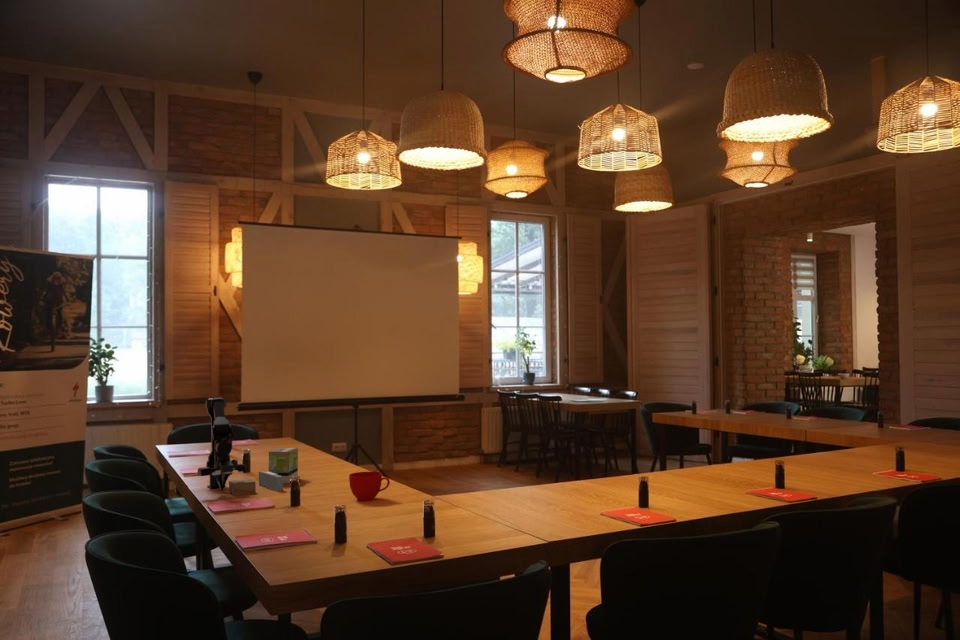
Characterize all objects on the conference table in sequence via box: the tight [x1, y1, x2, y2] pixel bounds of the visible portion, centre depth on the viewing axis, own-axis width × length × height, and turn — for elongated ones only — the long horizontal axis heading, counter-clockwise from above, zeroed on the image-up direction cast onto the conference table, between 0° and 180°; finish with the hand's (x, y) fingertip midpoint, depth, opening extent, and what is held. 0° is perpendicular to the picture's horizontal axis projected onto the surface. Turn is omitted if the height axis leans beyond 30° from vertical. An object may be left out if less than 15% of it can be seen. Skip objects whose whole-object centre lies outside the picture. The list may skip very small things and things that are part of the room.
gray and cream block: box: [258, 470, 284, 492], centre depth 337 cm, size 22×3×6 cm, turn 37°
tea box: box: [268, 447, 299, 484], centre depth 354 cm, size 15×10×15 cm, turn 179°
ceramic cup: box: [348, 471, 391, 502], centre depth 303 cm, size 13×17×10 cm
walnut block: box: [228, 478, 257, 496], centre depth 326 cm, size 9×9×5 cm
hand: (222, 490), depth 321 cm, fingers closed
